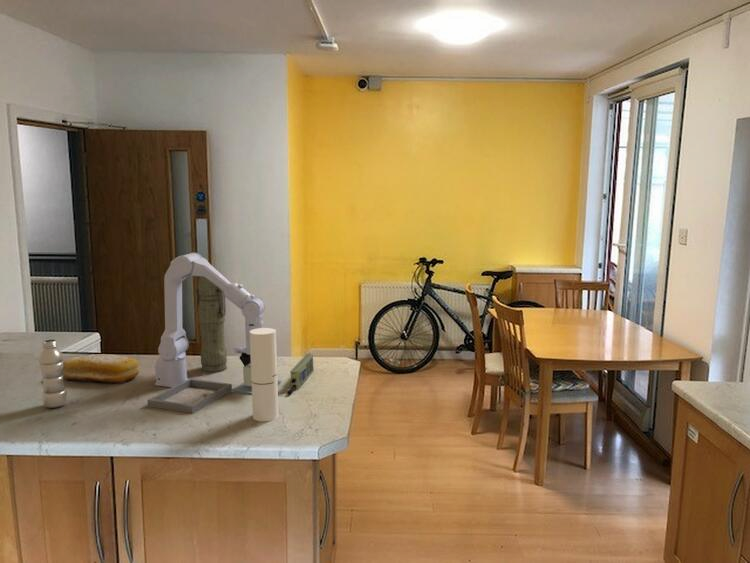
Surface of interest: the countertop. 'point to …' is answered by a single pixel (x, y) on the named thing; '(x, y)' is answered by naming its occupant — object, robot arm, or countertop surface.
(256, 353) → the cylindrical container
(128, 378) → the bread
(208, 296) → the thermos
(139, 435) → the countertop surface
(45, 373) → the plastic bottle
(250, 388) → the rubber mat
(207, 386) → the gray rectangular frame
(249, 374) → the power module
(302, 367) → the handheld radio
